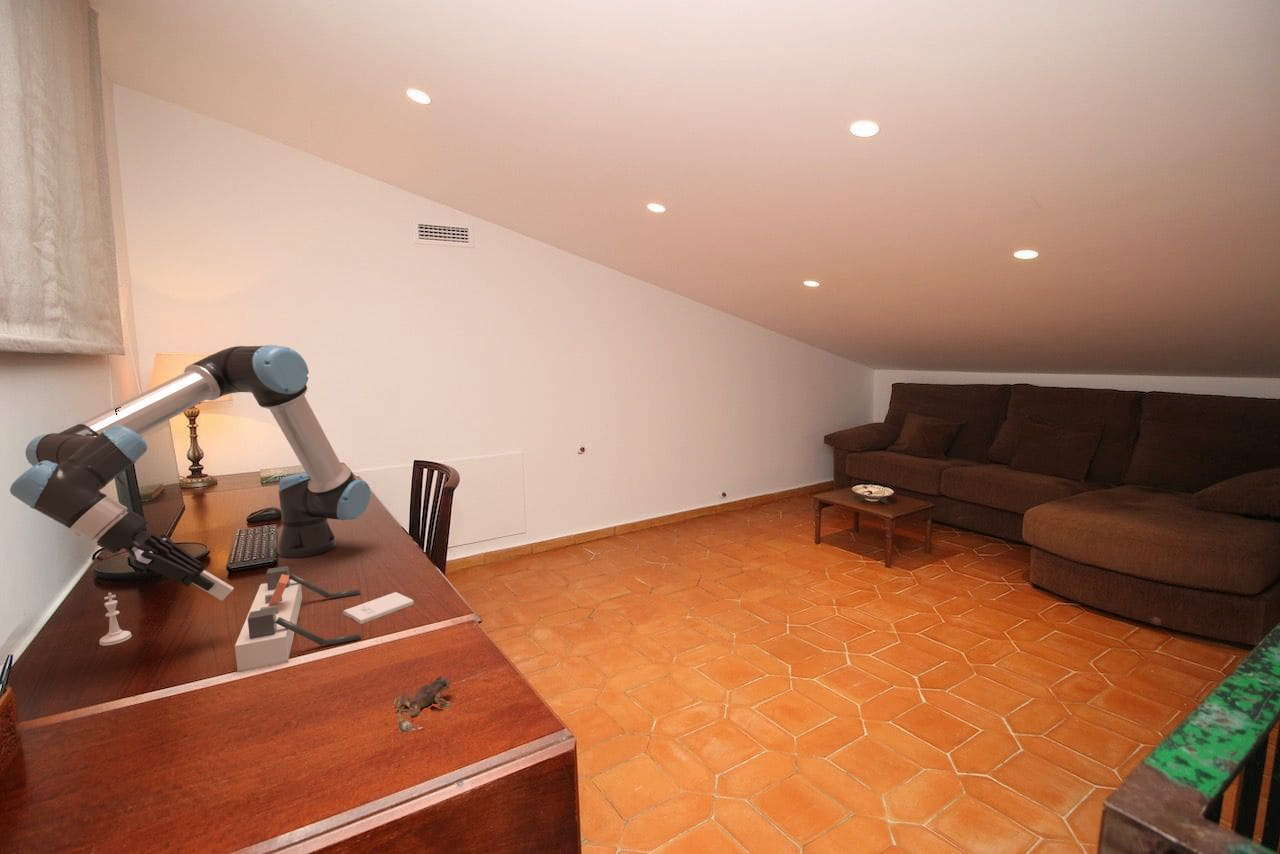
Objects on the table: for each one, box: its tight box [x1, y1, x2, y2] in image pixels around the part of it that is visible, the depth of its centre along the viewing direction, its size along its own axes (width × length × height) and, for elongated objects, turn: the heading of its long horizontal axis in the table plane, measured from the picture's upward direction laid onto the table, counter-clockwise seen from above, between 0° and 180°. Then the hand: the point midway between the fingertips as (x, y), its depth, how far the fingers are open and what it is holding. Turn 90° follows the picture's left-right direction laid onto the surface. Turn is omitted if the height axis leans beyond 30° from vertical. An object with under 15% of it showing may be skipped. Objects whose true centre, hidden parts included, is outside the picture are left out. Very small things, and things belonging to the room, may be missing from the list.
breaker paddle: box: [269, 574, 290, 606], centre depth 122 cm, size 2×5×6 cm, turn 27°
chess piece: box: [99, 592, 132, 646], centre depth 118 cm, size 5×5×10 cm
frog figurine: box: [393, 676, 452, 732], centre depth 95 cm, size 12×12×4 cm
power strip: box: [234, 565, 362, 672], centre depth 125 cm, size 21×32×9 cm, turn 26°
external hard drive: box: [342, 591, 415, 625], centre depth 132 cm, size 2×8×12 cm
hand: (227, 594), depth 118 cm, fingers closed
